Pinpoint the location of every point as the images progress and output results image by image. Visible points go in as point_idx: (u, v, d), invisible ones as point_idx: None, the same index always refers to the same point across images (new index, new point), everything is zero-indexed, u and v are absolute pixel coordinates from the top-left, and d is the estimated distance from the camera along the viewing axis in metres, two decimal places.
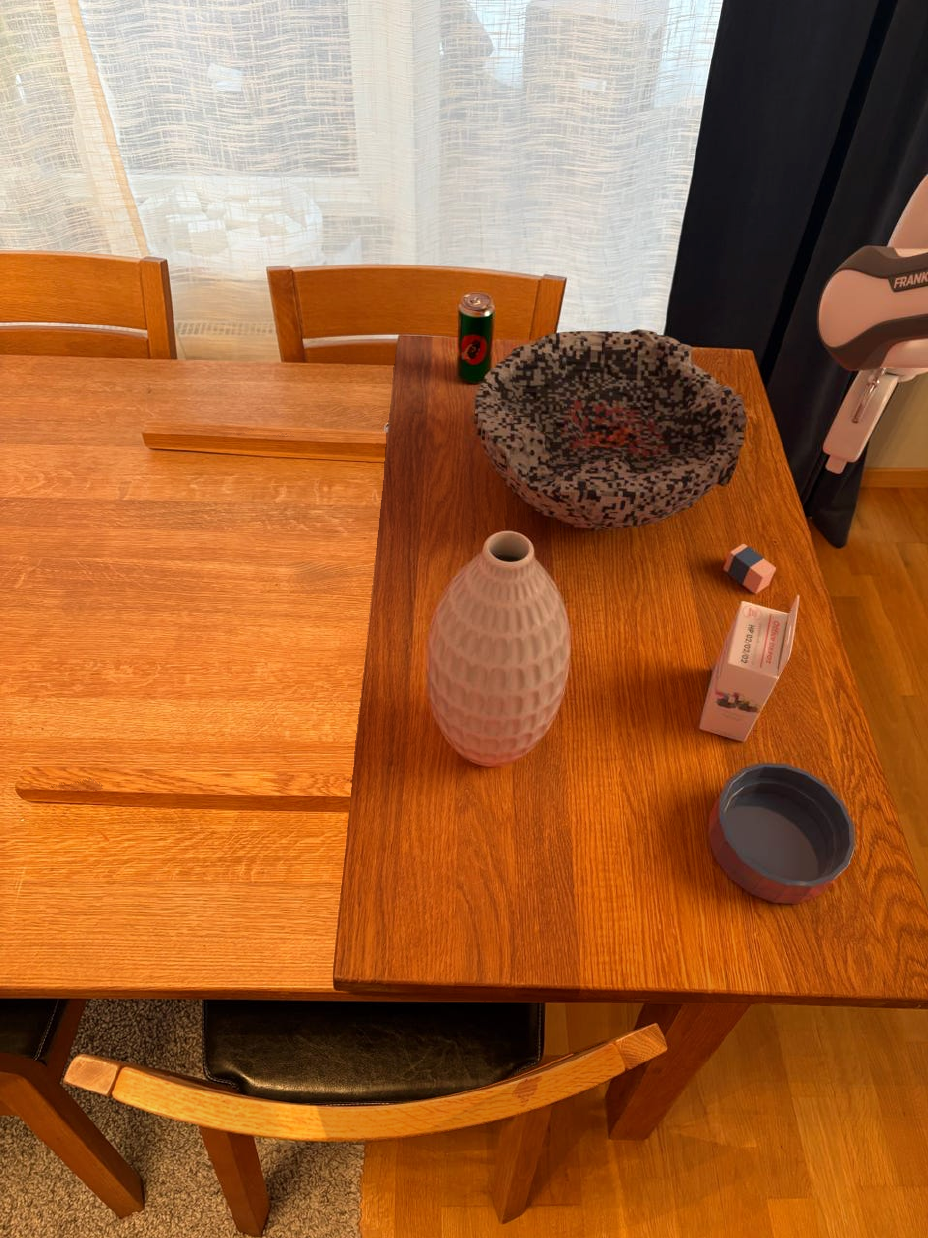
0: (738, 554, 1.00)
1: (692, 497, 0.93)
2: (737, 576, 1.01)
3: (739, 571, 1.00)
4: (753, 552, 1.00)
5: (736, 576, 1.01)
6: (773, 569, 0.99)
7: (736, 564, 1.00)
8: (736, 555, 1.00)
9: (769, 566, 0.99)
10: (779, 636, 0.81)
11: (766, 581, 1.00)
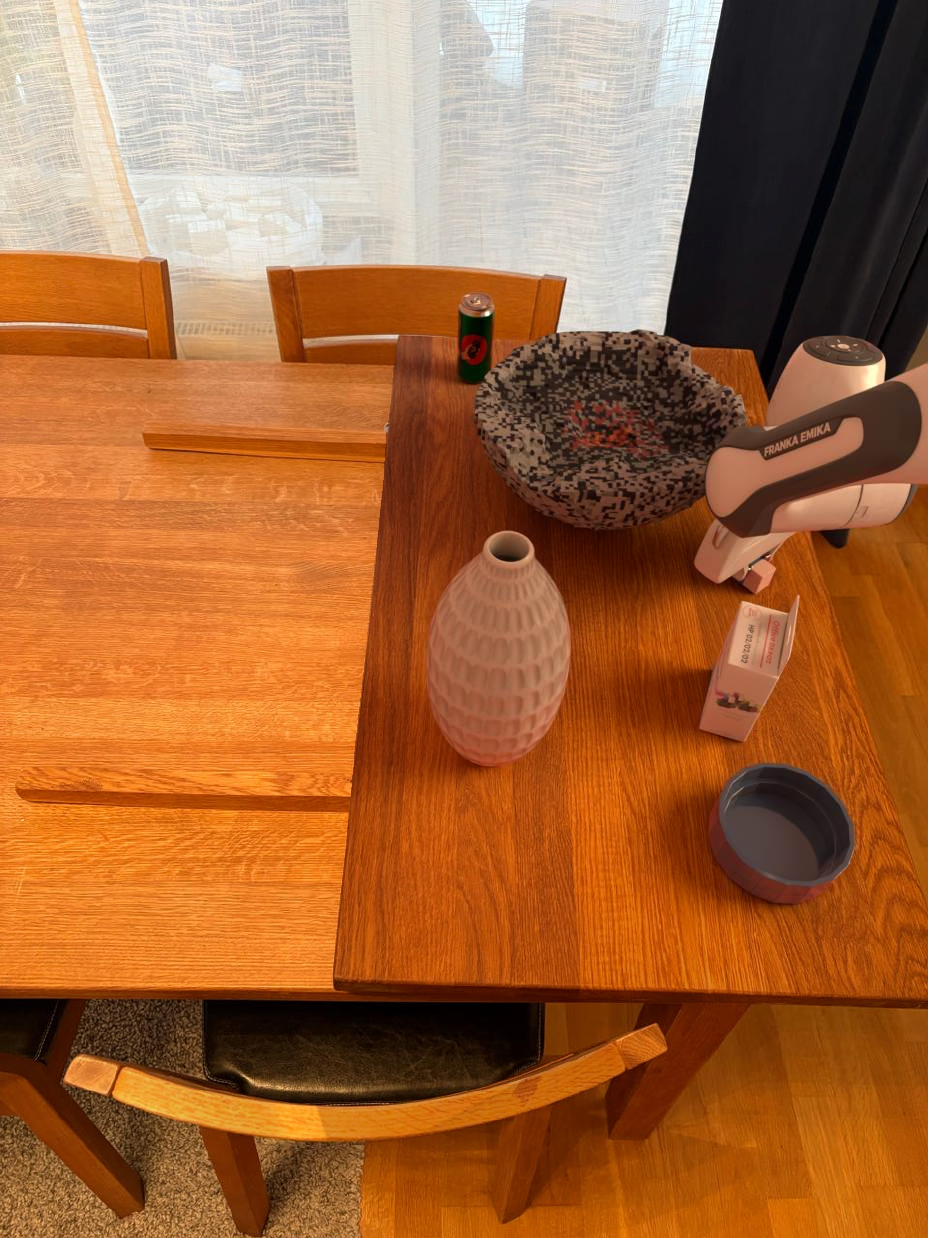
0: None
1: (692, 497, 0.93)
2: None
3: None
4: None
5: None
6: (773, 569, 0.99)
7: None
8: None
9: (769, 566, 0.99)
10: (779, 636, 0.81)
11: (766, 581, 1.00)
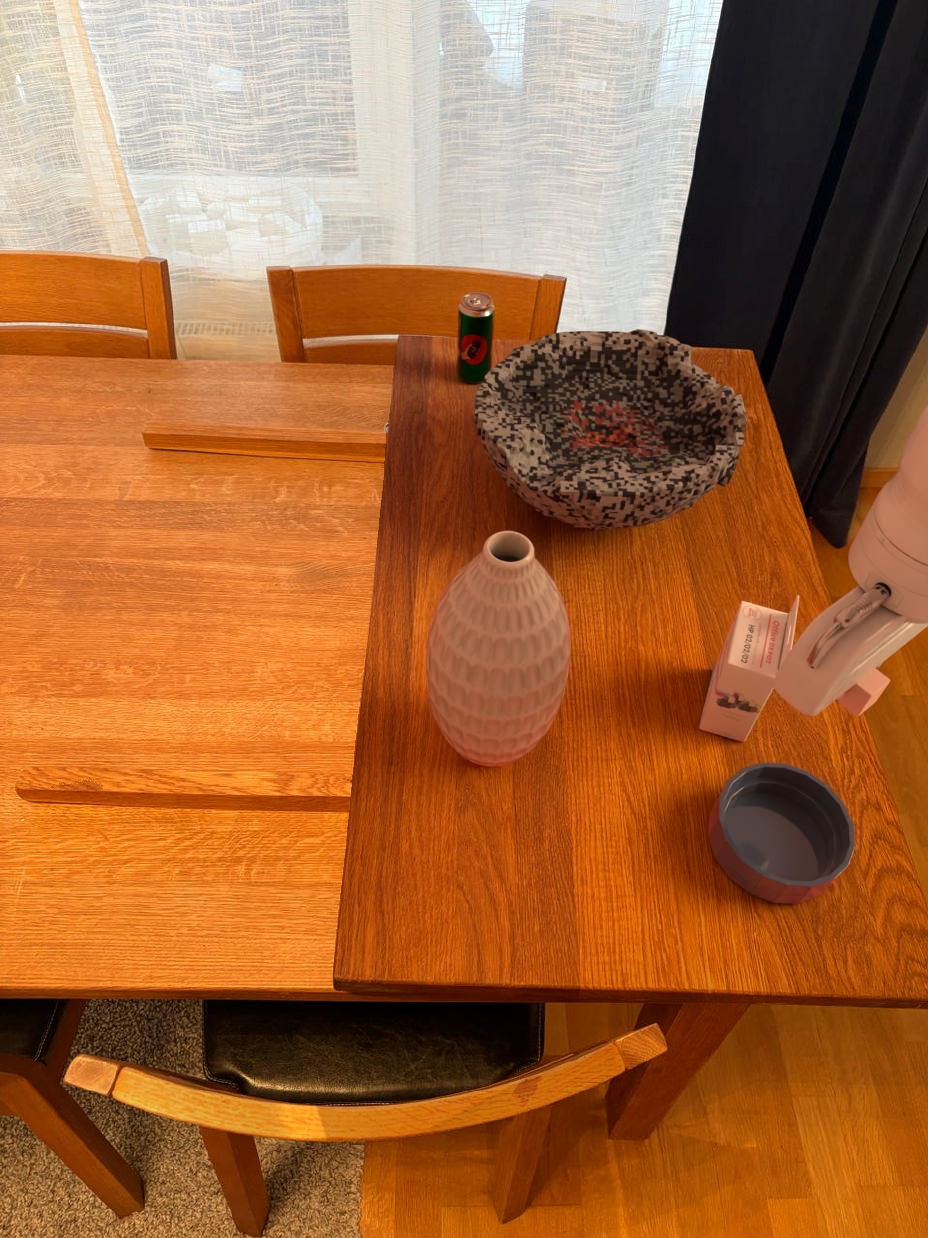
0: None
1: (692, 497, 0.93)
2: None
3: None
4: None
5: None
6: (886, 681, 0.65)
7: None
8: None
9: (879, 677, 0.66)
10: (779, 636, 0.81)
11: (874, 699, 0.66)
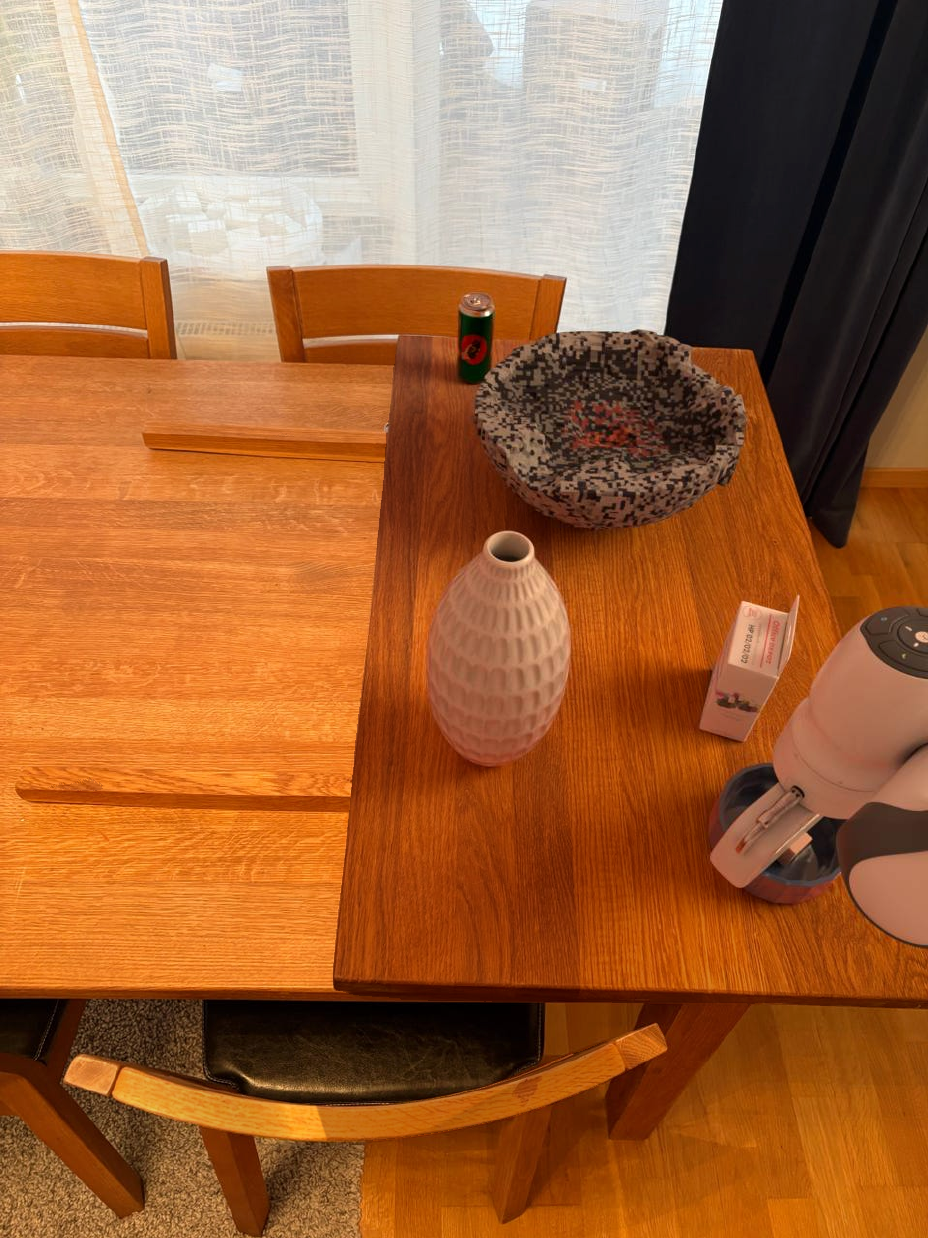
0: None
1: (692, 497, 0.93)
2: None
3: None
4: None
5: None
6: (808, 840, 0.77)
7: None
8: None
9: (803, 836, 0.77)
10: (779, 636, 0.81)
11: (798, 853, 0.78)
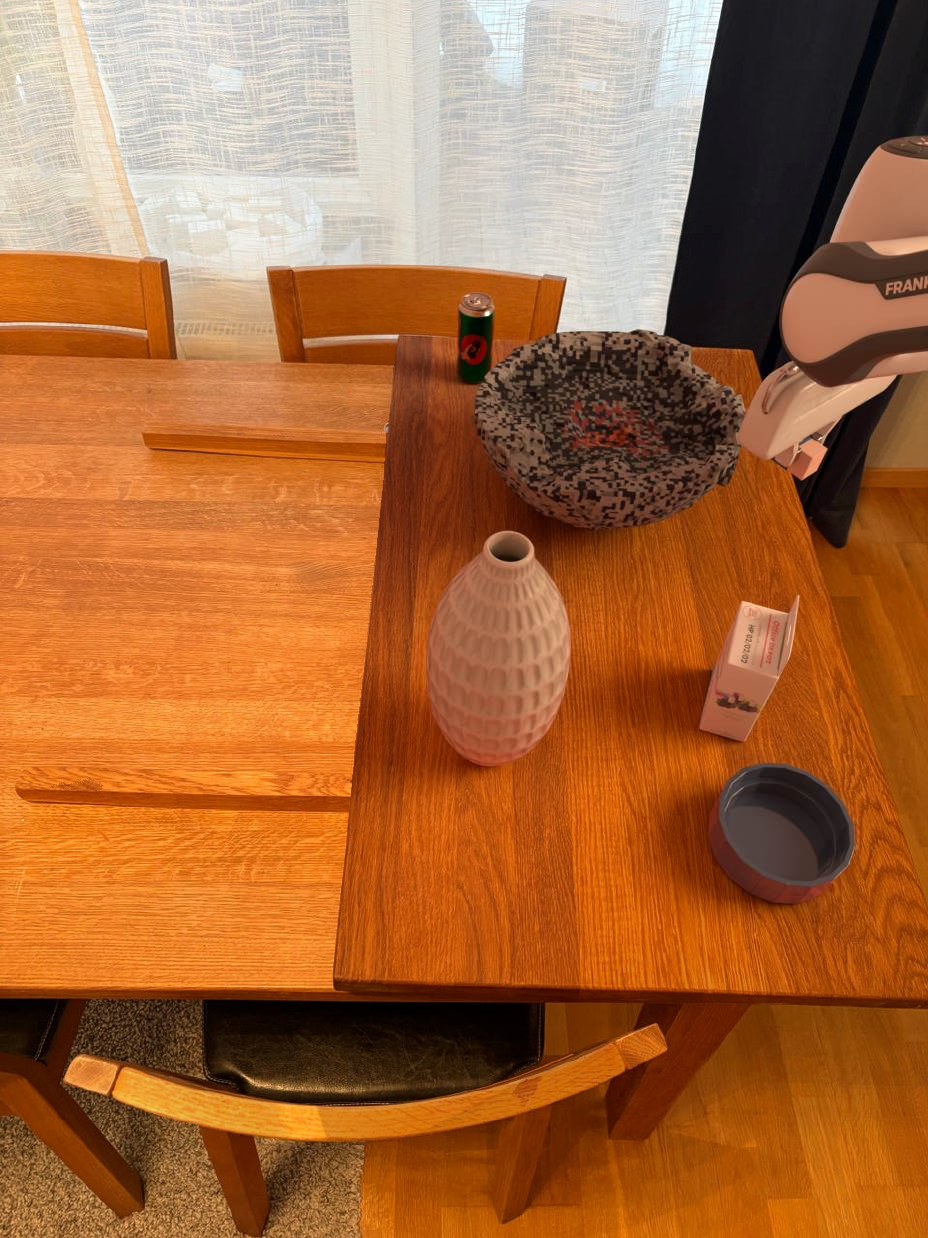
0: None
1: (692, 497, 0.93)
2: None
3: None
4: None
5: None
6: (824, 449, 0.85)
7: None
8: None
9: (819, 446, 0.85)
10: (779, 636, 0.81)
11: (814, 465, 0.86)
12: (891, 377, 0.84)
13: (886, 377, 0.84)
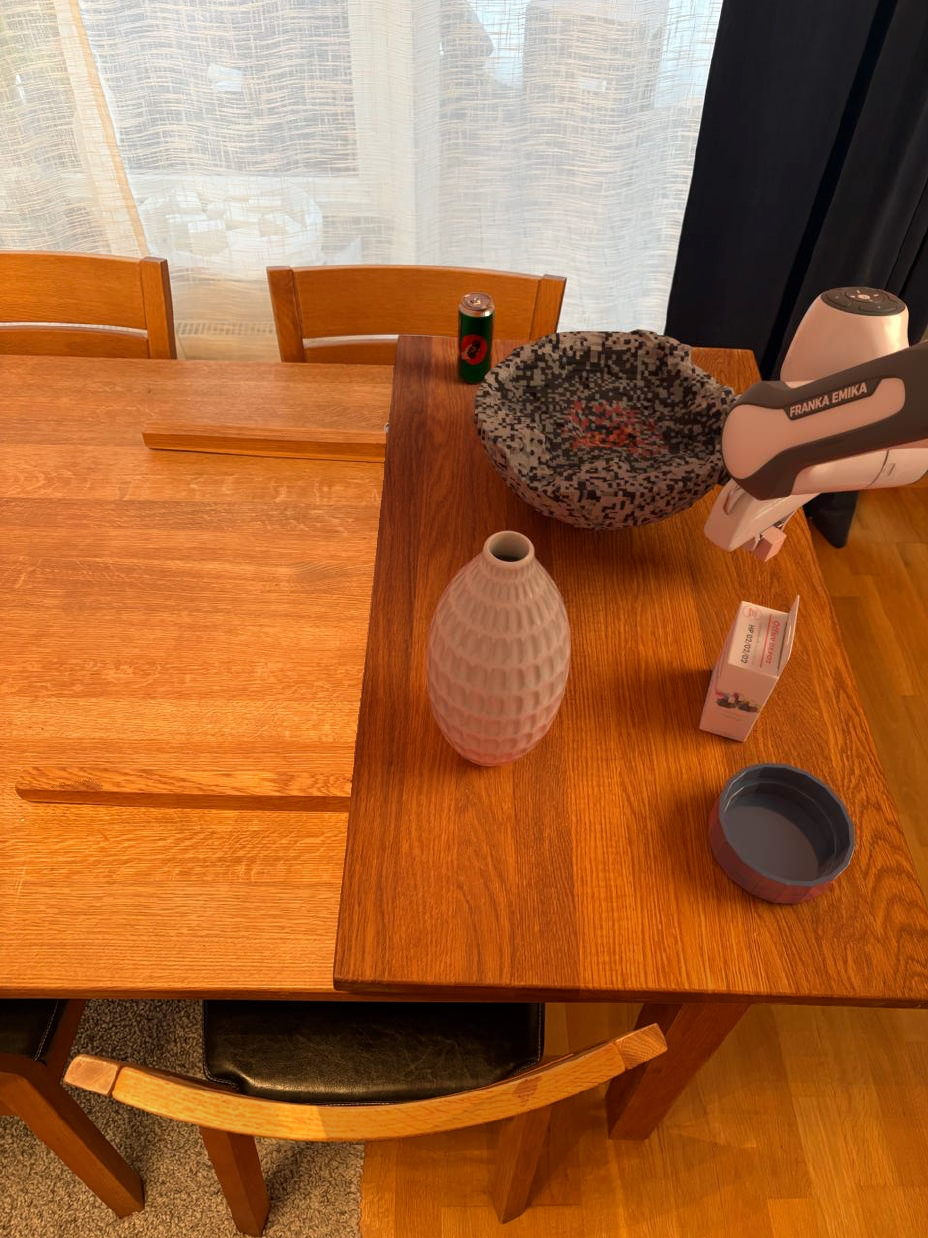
0: None
1: (692, 497, 0.93)
2: None
3: None
4: None
5: None
6: (783, 536, 0.95)
7: None
8: None
9: (779, 533, 0.95)
10: (779, 636, 0.81)
11: (775, 549, 0.96)
12: None
13: None
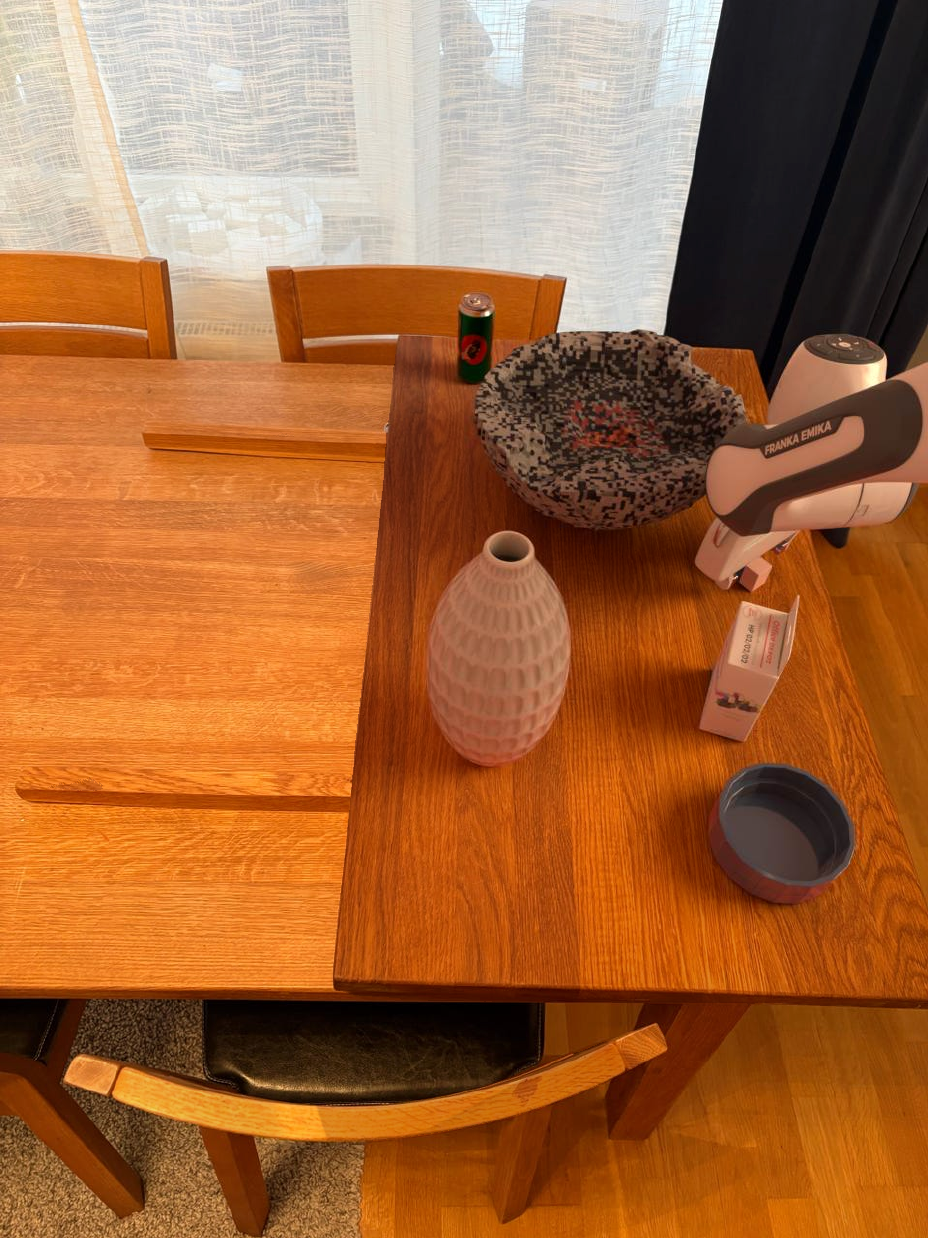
0: None
1: (692, 497, 0.93)
2: None
3: None
4: None
5: None
6: (769, 567, 0.99)
7: None
8: None
9: (765, 564, 0.99)
10: (779, 636, 0.81)
11: (762, 579, 1.00)
12: None
13: None
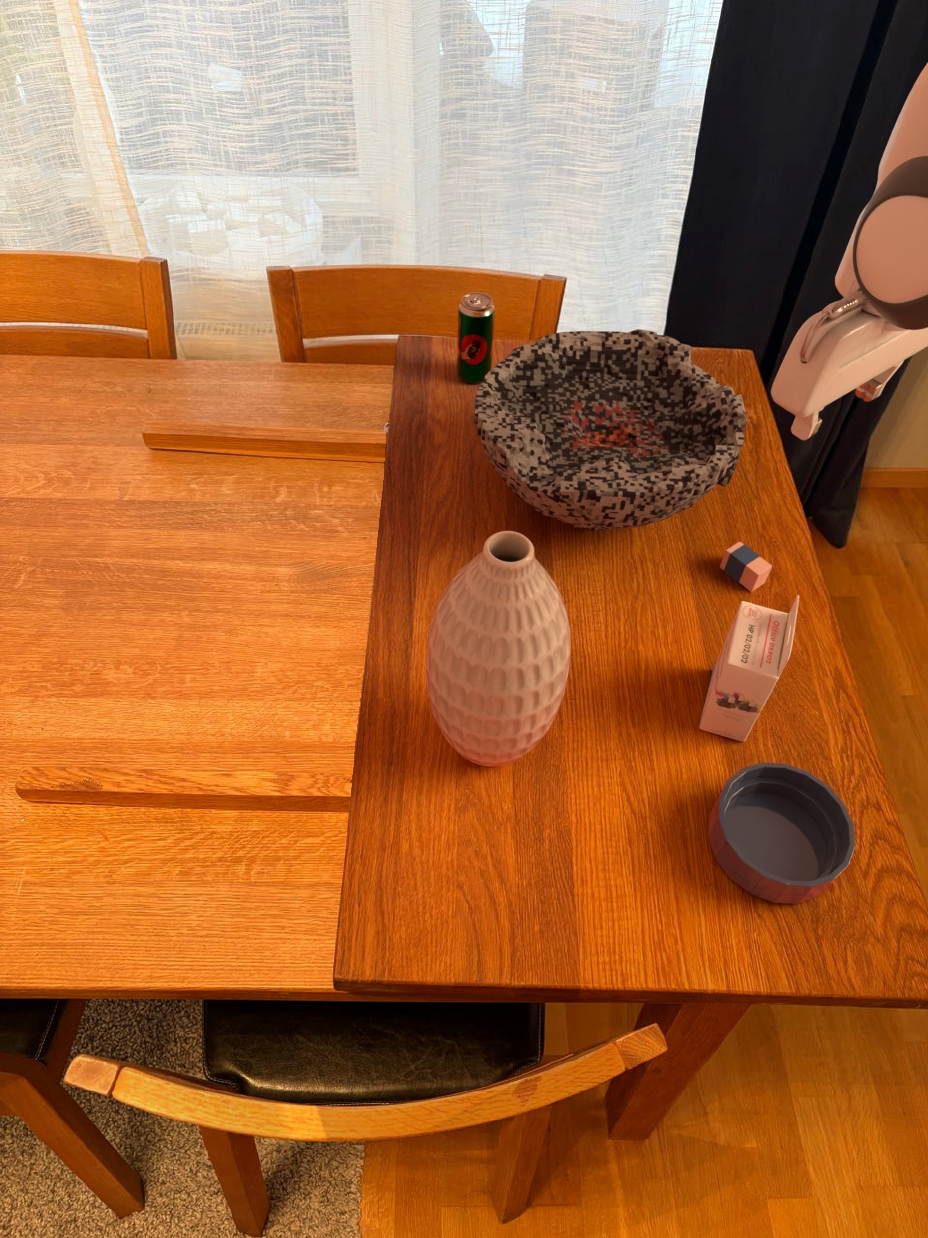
0: (734, 552, 1.00)
1: (692, 497, 0.93)
2: (733, 574, 1.01)
3: (735, 569, 1.01)
4: (749, 550, 1.00)
5: (733, 574, 1.01)
6: (769, 567, 0.99)
7: (732, 562, 1.00)
8: (732, 553, 1.00)
9: (765, 564, 0.99)
10: (779, 636, 0.81)
11: (762, 579, 1.00)
12: None
13: None
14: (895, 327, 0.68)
